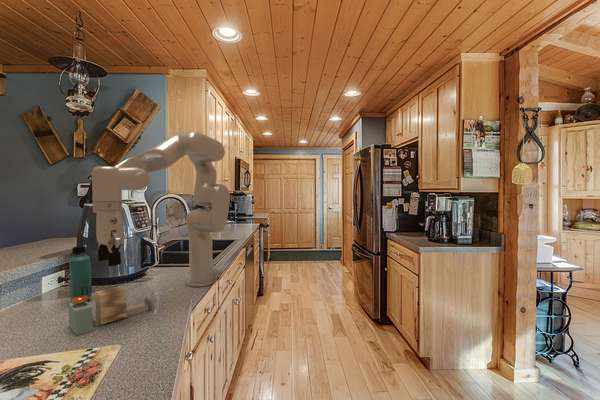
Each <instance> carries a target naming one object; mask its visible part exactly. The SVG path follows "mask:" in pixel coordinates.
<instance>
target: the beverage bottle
mask: <svg viewBox="0 0 600 400" xmlns="http://www.w3.org/2000/svg"><path fill="white" fill-rule="evenodd" d="M71 250H72V252H71V253H72V254H78V255H73V256H71V258H70V259H69V260H68V262H69V263H68V264H69V265H68V266H69V294H70V300H71V301H72V298H74V297H77V296H83V295H86V296H87V299H90V298H91V297H92V295H93V286H92V266H91V257H90V256H89V255H87V254H83V253H87V251H88V250H87V246H86V245H77V246H73V247H72V249H71Z"/></svg>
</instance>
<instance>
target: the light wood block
mask: <svg viewBox="0 0 600 400" xmlns="http://www.w3.org/2000/svg"><path fill="white" fill-rule="evenodd" d="M94 295H95V296H94V297H95V301H94V302H95V316H98V317H100V318H101V319H100V324H101V325H105V324H107V323H108V322H109V323H112V322H114V321H115V322H116V321H118V320H121V319H125V318H128V317H127V307H128V305H127V289H126V288H125V287H123V286H122V285H118V286H114V287H113V286H112V287H109V288H105V289H100V290H96V291H95V292H94ZM101 325H100V326H101Z"/></svg>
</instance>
